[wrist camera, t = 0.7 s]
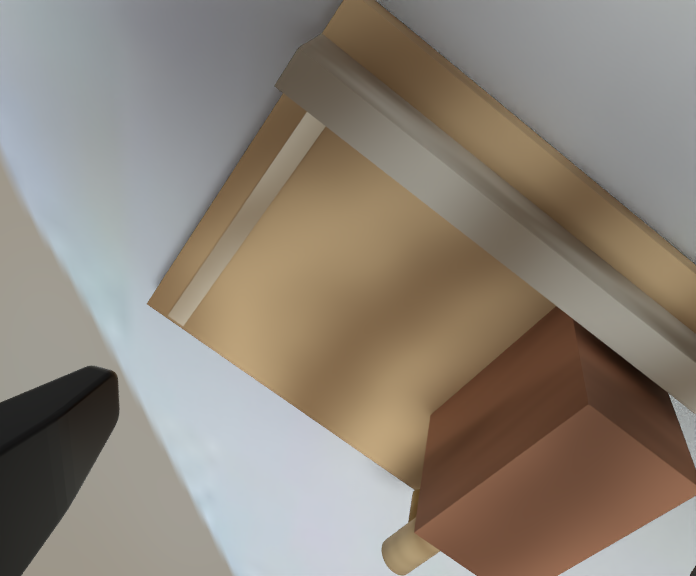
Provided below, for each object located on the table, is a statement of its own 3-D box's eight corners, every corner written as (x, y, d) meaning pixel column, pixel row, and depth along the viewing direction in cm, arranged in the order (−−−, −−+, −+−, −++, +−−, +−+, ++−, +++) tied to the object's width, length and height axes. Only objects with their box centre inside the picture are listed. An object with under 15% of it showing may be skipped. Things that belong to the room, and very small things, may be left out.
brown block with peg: (658, 366, 21) (703, 491, 17) (444, 521, 27) (432, 647, 22) (568, 295, 21) (588, 403, 16) (368, 469, 26) (339, 587, 22)
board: (747, 307, 21) (791, 376, 18) (471, 506, 28) (467, 581, 25) (358, -14, 19) (329, -2, 15) (161, 288, 25) (112, 340, 22)
